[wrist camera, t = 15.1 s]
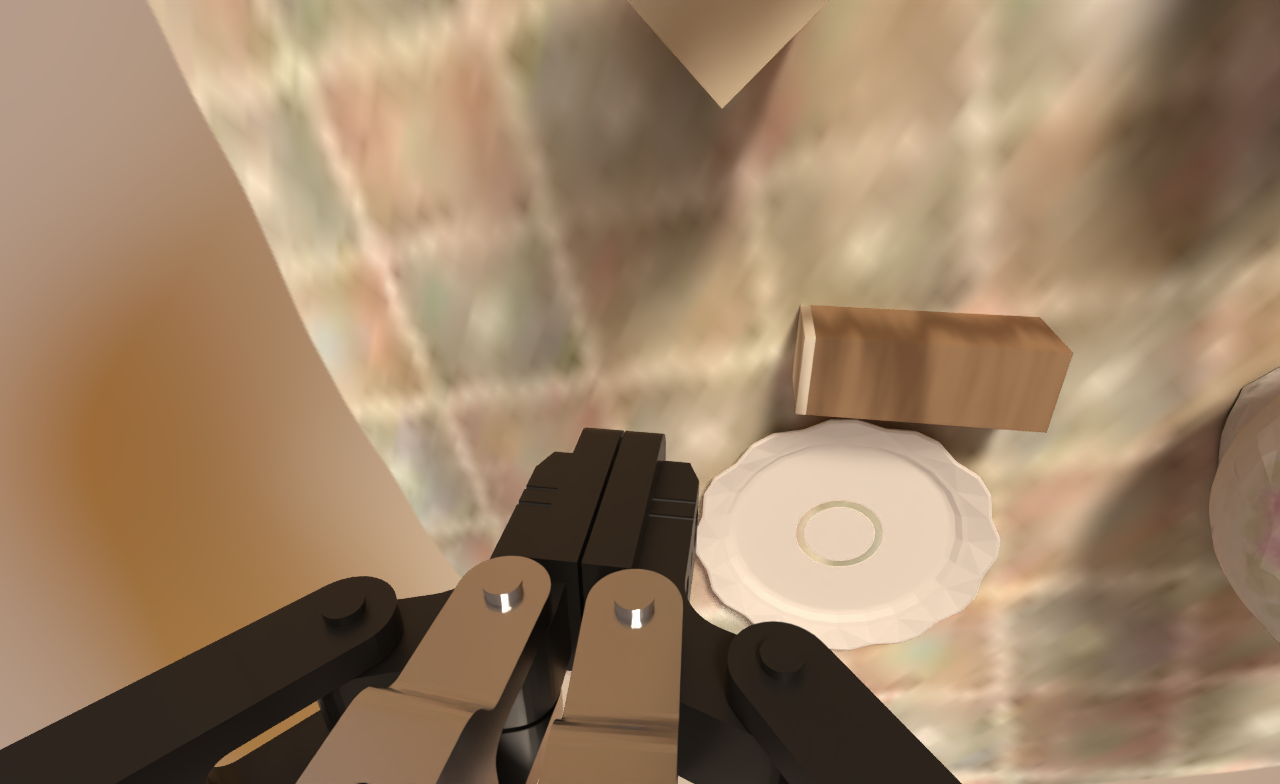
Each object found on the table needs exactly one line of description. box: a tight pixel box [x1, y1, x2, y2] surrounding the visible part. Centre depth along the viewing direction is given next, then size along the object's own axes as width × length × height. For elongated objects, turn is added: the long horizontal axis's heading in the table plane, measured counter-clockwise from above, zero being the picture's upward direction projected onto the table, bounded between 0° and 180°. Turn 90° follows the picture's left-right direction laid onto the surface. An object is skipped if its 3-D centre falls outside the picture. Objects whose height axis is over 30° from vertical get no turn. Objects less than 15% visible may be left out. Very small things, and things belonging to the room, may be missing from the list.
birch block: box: [626, 0, 829, 108], centre depth 30 cm, size 5×5×14 cm
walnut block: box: [792, 305, 1073, 433], centre depth 41 cm, size 5×5×14 cm
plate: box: [696, 419, 1000, 650], centre depth 50 cm, size 21×21×2 cm
